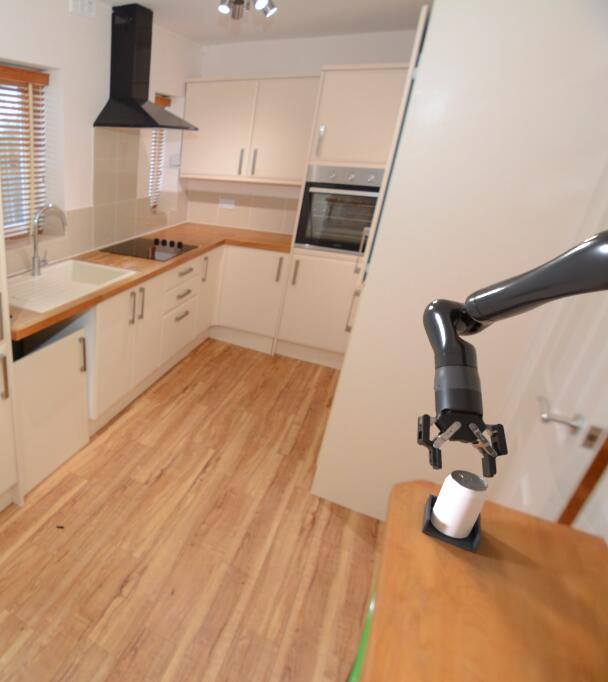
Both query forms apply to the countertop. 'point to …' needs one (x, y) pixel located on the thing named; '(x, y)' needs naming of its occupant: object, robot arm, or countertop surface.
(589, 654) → the countertop surface
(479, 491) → the can
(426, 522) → the tray
